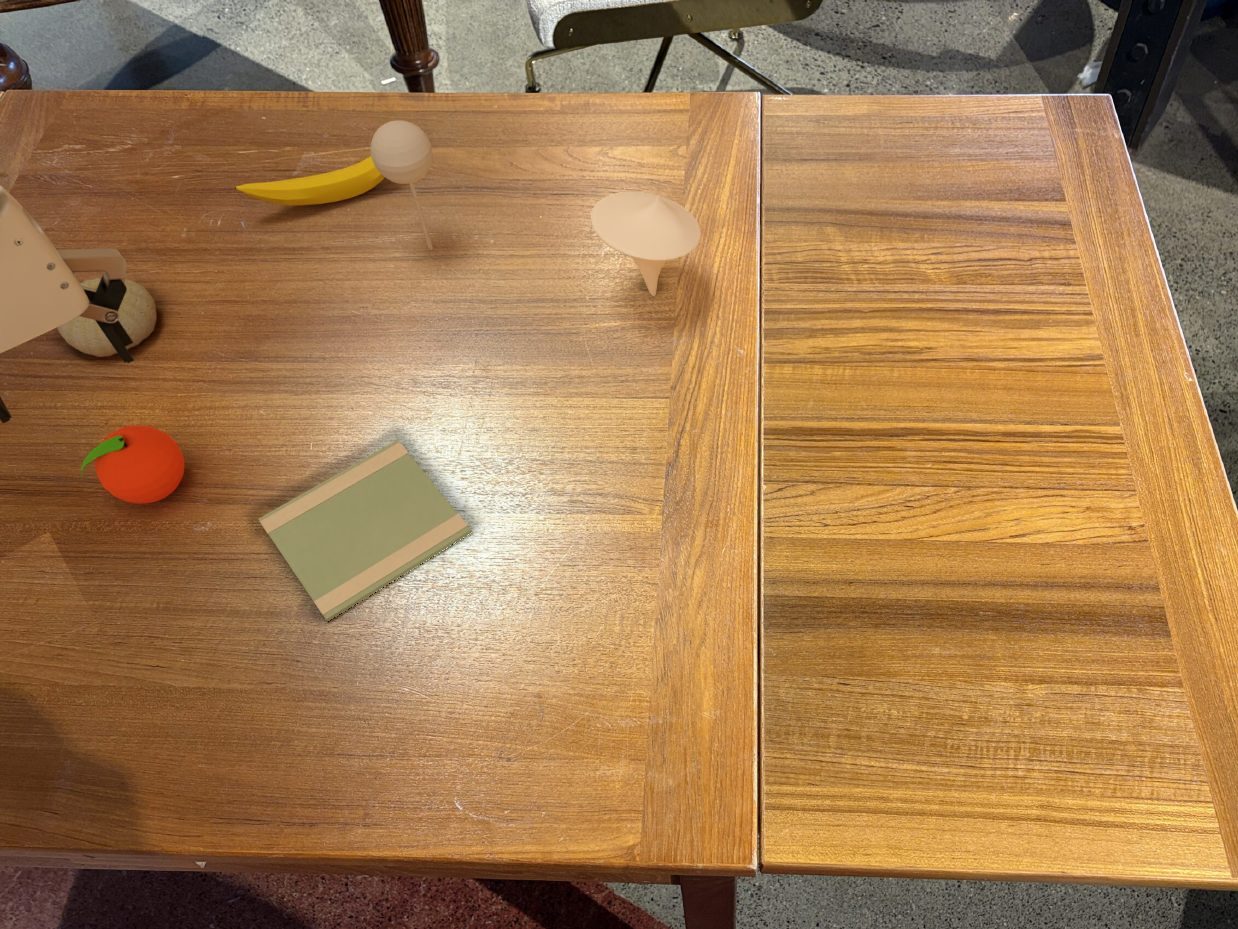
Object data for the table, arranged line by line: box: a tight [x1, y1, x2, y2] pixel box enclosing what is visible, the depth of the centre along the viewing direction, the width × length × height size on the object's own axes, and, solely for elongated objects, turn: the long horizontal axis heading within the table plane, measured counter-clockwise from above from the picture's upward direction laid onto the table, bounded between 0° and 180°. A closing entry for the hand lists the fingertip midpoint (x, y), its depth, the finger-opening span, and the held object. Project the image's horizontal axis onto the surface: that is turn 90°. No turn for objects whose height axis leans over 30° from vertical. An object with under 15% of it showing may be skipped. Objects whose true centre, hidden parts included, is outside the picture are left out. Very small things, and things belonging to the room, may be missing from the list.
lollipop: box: [369, 119, 434, 251], centre depth 103 cm, size 6×6×15 cm
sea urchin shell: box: [56, 277, 158, 358], centre depth 101 cm, size 9×8×8 cm
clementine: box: [80, 424, 185, 505], centre depth 89 cm, size 8×7×7 cm
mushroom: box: [590, 190, 702, 297], centre depth 100 cm, size 10×11×12 cm
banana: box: [234, 155, 386, 206], centre depth 111 cm, size 3×19×6 cm, turn 115°
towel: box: [257, 439, 473, 622], centre depth 89 cm, size 14×13×1 cm
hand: (64, 380), depth 80 cm, fingers open, 9 cm apart
